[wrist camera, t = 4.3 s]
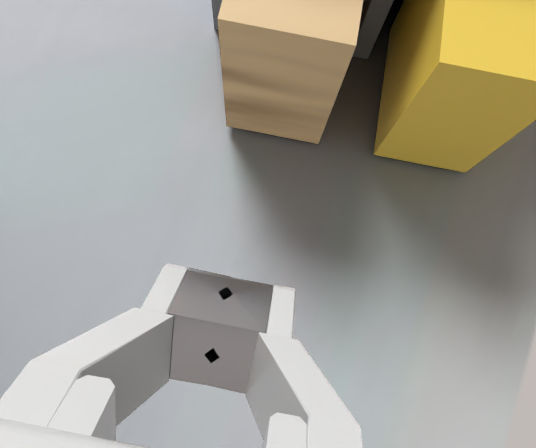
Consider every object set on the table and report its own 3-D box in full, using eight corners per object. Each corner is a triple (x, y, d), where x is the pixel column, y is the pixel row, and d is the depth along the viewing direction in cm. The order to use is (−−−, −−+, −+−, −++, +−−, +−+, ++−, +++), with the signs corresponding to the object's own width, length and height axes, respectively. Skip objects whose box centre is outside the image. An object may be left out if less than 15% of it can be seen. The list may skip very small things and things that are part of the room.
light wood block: (318, 143, 23) (356, 45, 15) (226, 126, 23) (217, 18, 15) (339, 20, 25) (382, -122, 17) (255, 4, 25) (260, -146, 17)
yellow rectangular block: (465, 172, 23) (577, 89, 15) (373, 154, 23) (439, 62, 15) (474, 46, 25) (576, -83, 17) (389, 30, 25) (455, -107, 17)
